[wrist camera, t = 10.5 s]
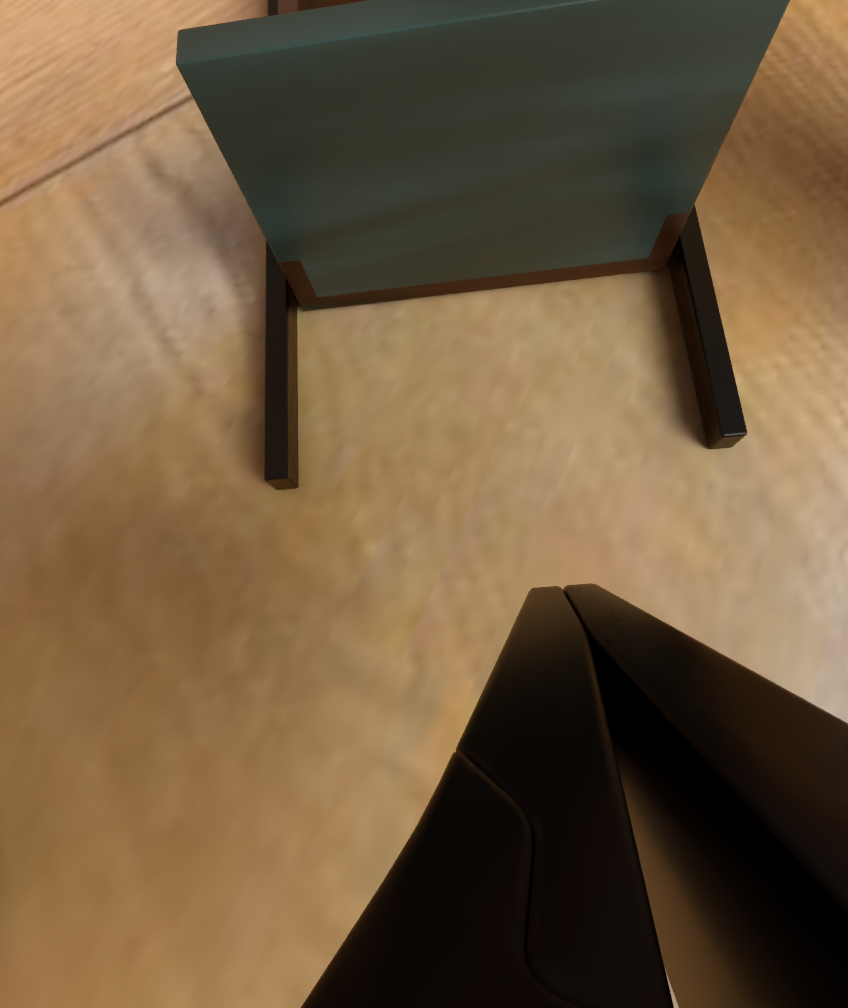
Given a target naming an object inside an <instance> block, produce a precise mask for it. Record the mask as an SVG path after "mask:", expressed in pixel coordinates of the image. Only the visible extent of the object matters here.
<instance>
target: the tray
mask: <svg viewBox="0 0 848 1008" xmlns="http://www.w3.org/2000/svg"><path fill="white" fill-rule="evenodd" d="M789 1H790V0H278V15H272V16H266V17H259V18H253V19H247V20H240V21H234V22H228V23H221V24H215V25H209V26H202V27H196V28H190V29H183V30H179V31H178V39H177V55H176V65H177V67H178V69H179V71H180V73H181V75H182V76H183V78H184V80H185V82H186V84H187V86H188V88H189V90H190V92H191V94H192V96H193V98H194V100H195V102H196V104H197V106H198V108H199V110H200V111H201V113H202V115H203V117H204V119H205V121H206V123H207V125H208V127H209V129H210V131H211V133H212V135H213V137H214V139H215V141H216V143H217V144H218V146H219V148H220V150H221V152H222V154H223V156H224V158H225V160H226V162H227V164H228V166H229V168H230V170H231V172H232V174H233V176H234V178H235V179H236V181H237V183H238V185H239V187H240V189H241V191H242V193H243V195H244V197H245V199H246V201H247V203H248V205H249V207H250V209H251V211H252V213H253V214H254V216H255V218H256V220H257V222H258V224H259V226H260V228H261V230H262V232H263V234H264V236H265V238H266V240H267V242H268V244H269V246H270V247H271V249H272V251H273V253H274V255H275V257H276V259H277V261H278V263H279V265H280V267H281V269H282V271H283V273H284V275H285V277H286V279H287V281H288V283H289V284H290V286H291V288H292V290H293V292H294V294H295V296H296V298H297V300H298V302H299V304H300V306H301V308H302V310H303V311H309V310H318V309H327V308H335V307H344V306H352V305H361V304H369V303H378V302H386V301H395V300H404V299H412V298H421V297H429V296H438V295H446V294H455V293H463V292H472V291H480V290H489V289H498V288H506V287H515V286H523V285H532V284H540V283H549V282H557V281H566V280H575V279H583V278H592V277H600V276H609V275H617V274H626V273H634V272H643V271H652V270H660V269H664V267H665V265H666V263H667V261H668V259H669V257H670V255H671V252H672V250H673V248H674V246H675V244H676V242H677V240H678V238H679V235H680V233H681V231H682V229H683V227H684V225H685V223H686V221H687V218H688V216H689V214H690V212H691V210H692V208H693V206H694V203H695V201H696V199H697V197H698V195H699V193H700V191H701V189H702V186H703V184H704V182H705V180H706V178H707V176H708V174H709V172H710V169H711V167H712V165H713V163H714V161H715V159H716V157H717V155H718V152H719V150H720V148H721V146H722V144H723V142H724V140H725V137H726V135H727V133H728V131H729V129H730V127H731V125H732V123H733V120H734V118H735V116H736V114H737V112H738V110H739V108H740V106H741V103H742V101H743V99H744V97H745V95H746V93H747V91H748V89H749V86H750V84H751V82H752V80H753V78H754V76H755V74H756V72H757V69H758V67H759V65H760V63H761V61H762V59H763V57H764V55H765V52H766V50H767V48H768V46H769V44H770V42H771V40H772V37H773V35H774V33H775V31H776V29H777V27H778V25H779V23H780V20H781V18H782V16H783V14H784V12H785V10H786V8H787V6H788V3H789Z"/></svg>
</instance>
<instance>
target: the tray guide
mask: <svg viewBox="0 0 848 1008" xmlns="http://www.w3.org/2000/svg"><path fill="white" fill-rule="evenodd" d="M272 15H278V0H268V16H272ZM668 260H669V265H670V270H671V275H672V279H673V284H674V289H675V294H676V298H677V303H678V308H679V313H680V318H681V322H682V327H683V332H684V337H685V341H686V346H687V351H688V356H689V360H690V365H691V370H692V375H693V379H694V384H695V389H696V394H697V399H698V403H699V408H700V413H701V418H702V422H703V427H704V432H705V437H706V441H707V446H708V449H719V448H729V447H732V446H734V445H735V444H736V443H737V442H738V441H740V440H741V439H742V438H743V437H744V436H746V435H747V429H746V425H745V421H744V416H743V412H742V408H741V403H740V399H739V395H738V390H737V386H736V382H735V378H734V373H733V369H732V365H731V360H730V356H729V352H728V347H727V343H726V339H725V334H724V330H723V326H722V321H721V317H720V313H719V308H718V304H717V300H716V295H715V291H714V287H713V282H712V278H711V274H710V269H709V265H708V261H707V256H706V252H705V248H704V243H703V239H702V235H701V230H700V226H699V222H698V217H697V213H696V209H695V204H694V206H693V208H692V210H691V212H690V214H689V216H688V218H687V221H686V223H685V225H684V227H683V229H682V231H681V233H680V235H679V238H678V240H677V242H676V244H675V246H674V248H673V250H672V252H671V255H670V257H669V259H668ZM264 479H265V481H267V482H268V483H269V484H270V485H271V486H273V487H274V488H275V489H276V490H282V489H292V488H298V382H297V298H296V296H295V294H294V292H293V290H292V288H291V286H290V284H289V283H288V281H287V279H286V277H285V275H284V273H283V271H282V269H281V267H280V265H279V263H278V261H277V259H276V257H275V255H274V253H273V251H272V249H271V247H270V246H269V244H268V242H267V240H266V338H265V470H264Z"/></svg>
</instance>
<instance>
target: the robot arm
mask: <svg viewBox="0 0 848 1008" xmlns="http://www.w3.org/2000/svg"><path fill="white" fill-rule="evenodd" d="M664 967H665V968H664ZM665 970H666V972H665ZM666 973H667V976H668V978H669V981H670V984H671V987H672V989H673V992H674V995H675V998H676V1000H677V1003H678V1006H679V1008H848V723H846V722H844V721H842V720H841V719H839V718H837V717H835V716H833V715H832V714H830V713H828V712H826V711H824V710H823V709H821V708H819V707H817V706H815V705H813V704H812V703H810V702H808V701H806V700H804V699H803V698H801V697H799V696H797V695H795V694H794V693H792V692H790V691H788V690H786V689H784V688H783V687H781V686H779V685H777V684H775V683H774V682H772V681H770V680H768V679H766V678H765V677H763V676H761V675H759V674H757V673H755V672H754V671H752V670H750V669H748V668H746V667H745V666H743V665H741V664H739V663H737V662H736V661H734V660H732V659H730V658H728V657H726V656H725V655H723V654H721V653H719V652H717V651H716V650H714V649H712V648H710V647H708V646H706V645H705V644H703V643H701V642H699V641H697V640H696V639H694V638H692V637H690V636H688V635H687V634H685V633H683V632H681V631H679V630H677V629H676V628H674V627H672V626H670V625H668V624H667V623H665V622H663V621H661V620H659V619H658V618H656V617H654V616H652V615H650V614H648V613H647V612H645V611H643V610H641V609H639V608H638V607H636V606H634V605H632V604H630V603H629V602H627V601H625V600H623V599H621V598H619V597H618V596H616V595H614V594H612V593H610V592H609V591H607V590H605V589H603V588H601V587H600V586H598V585H595V584H578V585H568V586H566V587H564V589H562V588H561V587H559V586H552V587H539V588H532V589H531V590H530V591H529V593H528V595H527V597H526V599H525V601H524V604H523V606H522V608H521V610H520V612H519V614H518V616H517V619H516V621H515V623H514V625H513V627H512V629H511V632H510V634H509V636H508V638H507V640H506V642H505V644H504V647H503V649H502V651H501V653H500V655H499V657H498V660H497V662H496V664H495V666H494V668H493V670H492V672H491V675H490V677H489V679H488V681H487V683H486V685H485V687H484V690H483V692H482V694H481V696H480V698H479V700H478V703H477V705H476V707H475V709H474V711H473V713H472V715H471V718H470V720H469V722H468V724H467V726H466V728H465V731H464V733H463V735H462V737H461V739H460V741H459V743H458V746H457V748H456V752H454V753H453V754H452V756H451V758H450V761H449V763H448V765H447V767H446V769H445V771H444V773H443V776H442V778H441V780H440V782H439V784H438V786H437V788H436V790H435V792H434V794H433V795H432V797H431V799H430V801H429V803H428V805H427V807H426V809H425V811H424V813H423V815H422V817H421V819H420V821H419V822H418V824H417V826H416V828H415V830H414V831H413V833H412V835H411V836H410V838H409V840H408V841H407V843H406V845H405V846H404V848H403V849H402V851H401V853H400V854H399V856H398V858H397V859H396V861H395V863H394V864H393V866H392V867H391V869H390V871H389V872H388V874H387V876H386V877H385V879H384V881H383V882H382V884H381V885H380V887H379V888H378V890H377V891H376V893H375V895H374V896H373V898H372V899H371V901H370V902H369V904H368V905H367V907H366V908H365V910H364V911H363V913H362V914H361V916H360V918H359V919H358V921H357V922H356V924H355V925H354V927H353V928H352V930H351V931H350V933H349V934H348V936H347V938H346V939H345V941H344V942H343V944H342V945H341V947H340V948H339V950H338V951H337V953H336V954H335V956H334V958H333V959H332V961H331V962H330V964H329V965H328V967H327V968H326V970H325V971H324V973H323V974H322V976H321V978H320V979H319V981H318V982H317V984H316V985H315V987H314V988H313V990H312V991H311V993H310V994H309V996H308V997H307V999H306V1001H305V1002H304V1004H303V1005H302V1007H301V1008H674V1007H673V1003H672V998H671V994H670V989H669V985H668V981H667V976H666Z"/></svg>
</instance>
